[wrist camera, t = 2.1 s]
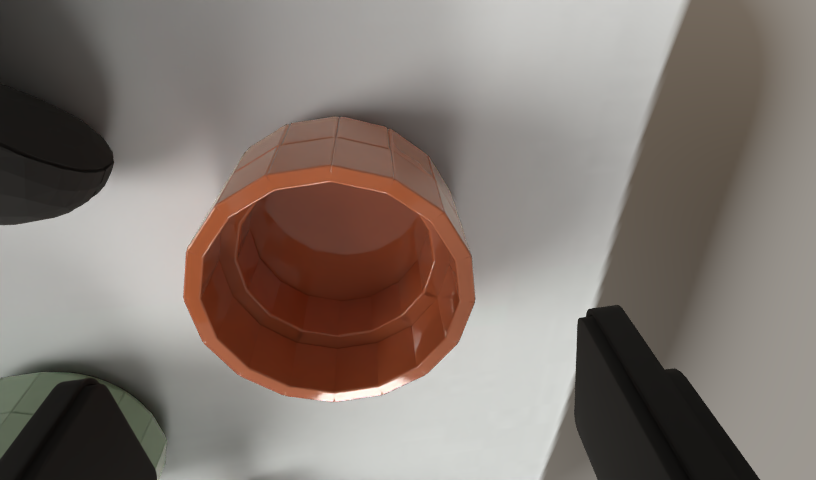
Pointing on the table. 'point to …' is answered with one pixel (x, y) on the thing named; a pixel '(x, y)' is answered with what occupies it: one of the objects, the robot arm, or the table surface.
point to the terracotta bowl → (331, 263)
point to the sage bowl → (23, 394)
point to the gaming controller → (46, 159)
